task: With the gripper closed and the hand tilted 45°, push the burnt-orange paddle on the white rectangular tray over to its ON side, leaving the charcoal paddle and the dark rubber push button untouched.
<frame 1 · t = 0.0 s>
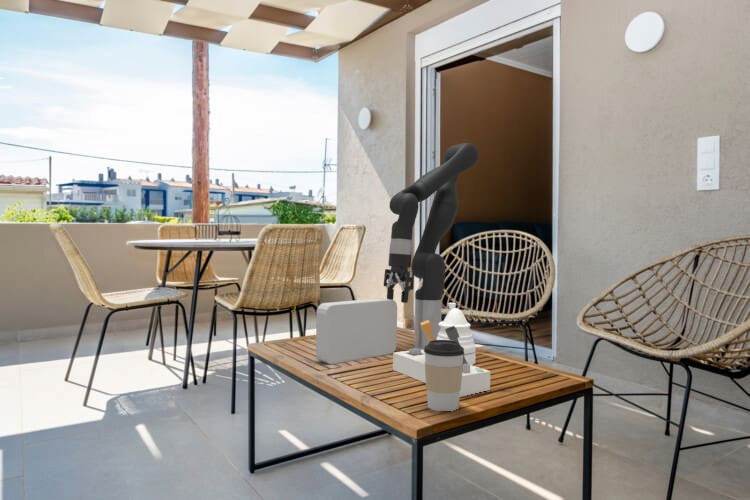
hand: (396, 301, 168), 17 cm above the table, tool pointing down, fingers open, 8 cm apart
rounded white slab: (358, 358, 161), on the table
orange paddle: (432, 341, 136), point 10 cm above the table, hinge at 22.0°
coffee cup: (443, 407, 114), on the table
honey pot: (454, 361, 157), on the table
grey button: (415, 354, 145), point 5 cm above the table, slide at 0.0 cm
white rectangular tray: (437, 379, 136), on the table
charcoal paddle: (458, 348, 127), point 10 cm above the table, hinge at 22.0°
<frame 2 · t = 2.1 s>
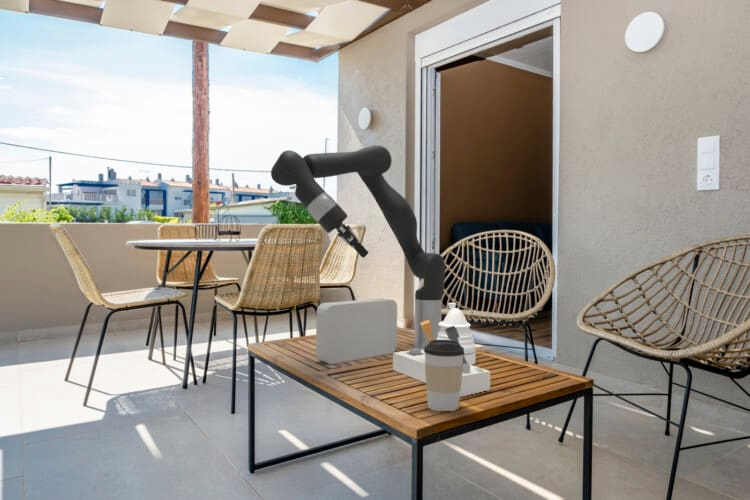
hand: (365, 255, 140), 33 cm above the table, tool tilted 45°, fingers open, 8 cm apart
nothing on the table moved.
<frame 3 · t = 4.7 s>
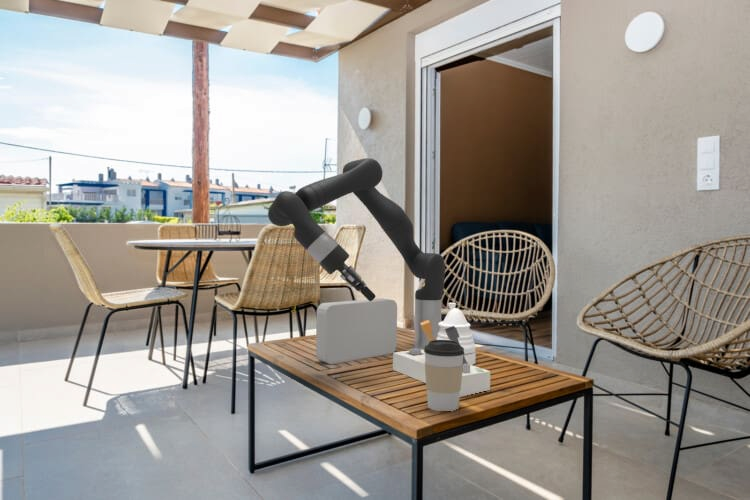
hand: (373, 298, 135), 22 cm above the table, tool tilted 45°, fingers closed
nothing on the table moved.
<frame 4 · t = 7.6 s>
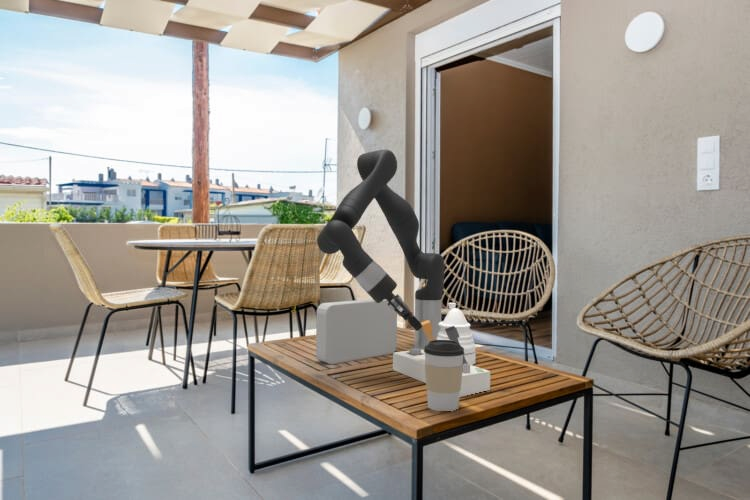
hand: (419, 328, 135), 14 cm above the table, tool tilted 45°, fingers closed
orange paddle: (432, 341, 136), point 10 cm above the table, hinge at 21.6°, touching gripper
everything else where it was.
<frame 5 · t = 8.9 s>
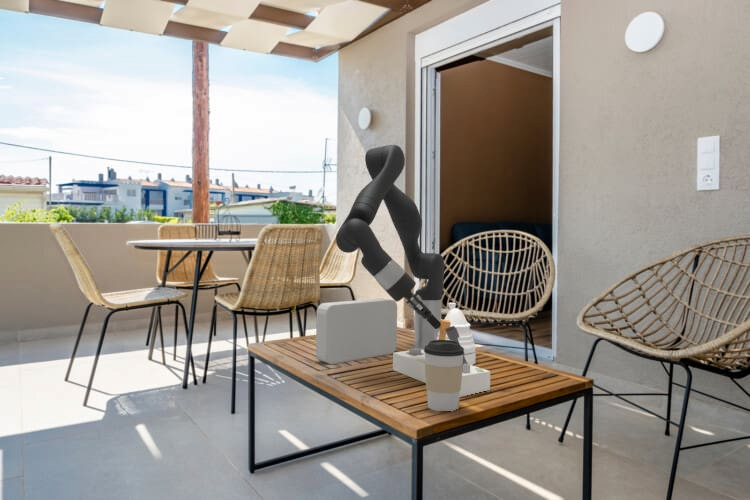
hand: (438, 326, 135), 14 cm above the table, tool tilted 45°, fingers closed
orange paddle: (441, 340, 136), point 11 cm above the table, hinge at -10.2°, touching gripper
everything else where it was.
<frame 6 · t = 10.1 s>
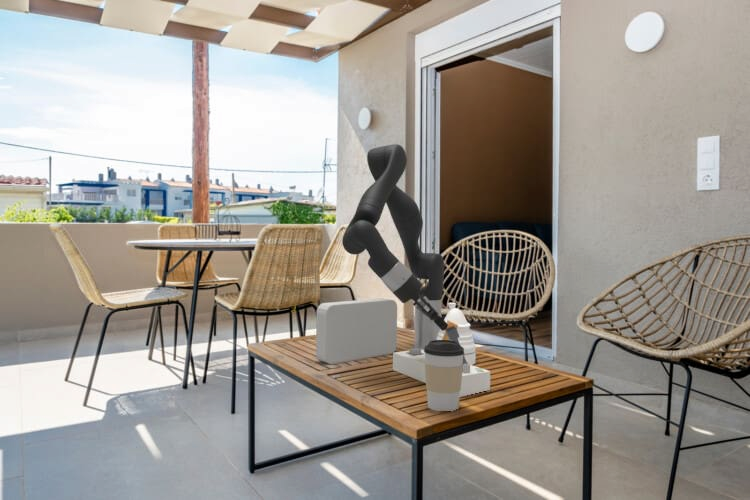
hand: (445, 327, 135), 14 cm above the table, tool tilted 45°, fingers closed
orange paddle: (444, 341, 136), point 10 cm above the table, hinge at -22.5°, touching gripper
everything else where it was.
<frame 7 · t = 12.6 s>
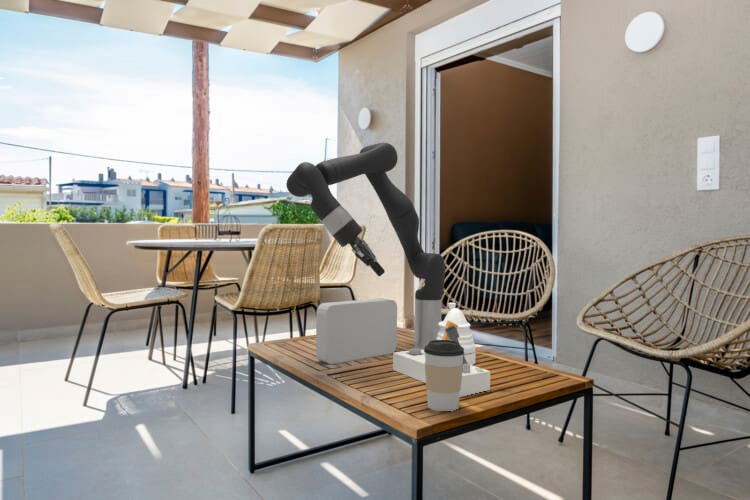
hand: (382, 274, 139), 28 cm above the table, tool tilted 40°, fingers closed
orange paddle: (444, 341, 136), point 10 cm above the table, hinge at -22.6°
everything else where it was.
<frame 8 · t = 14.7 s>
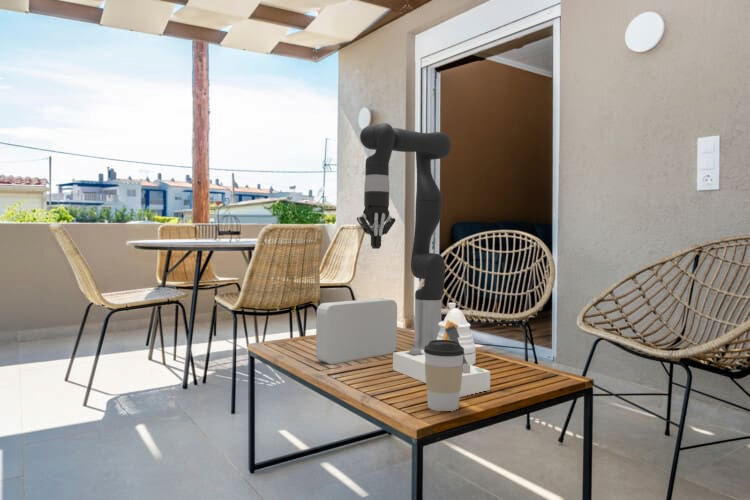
hand: (376, 248, 151), 35 cm above the table, tool pointing down, fingers closed
nothing on the table moved.
at the end: orange paddle at -23° (first picture: +22°); charcoal paddle at +22° (first picture: +22°); grey button slide at 0.0 cm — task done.
